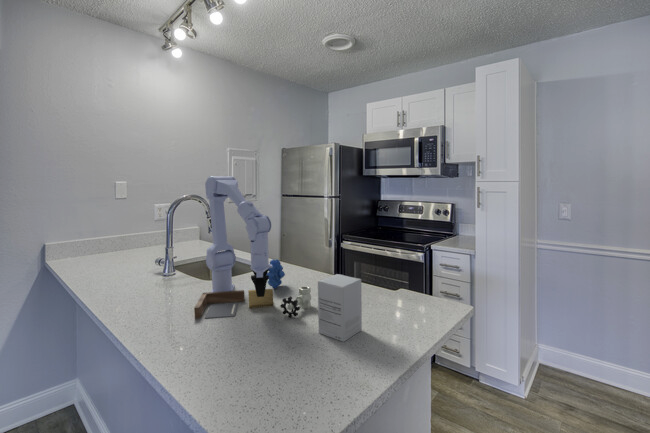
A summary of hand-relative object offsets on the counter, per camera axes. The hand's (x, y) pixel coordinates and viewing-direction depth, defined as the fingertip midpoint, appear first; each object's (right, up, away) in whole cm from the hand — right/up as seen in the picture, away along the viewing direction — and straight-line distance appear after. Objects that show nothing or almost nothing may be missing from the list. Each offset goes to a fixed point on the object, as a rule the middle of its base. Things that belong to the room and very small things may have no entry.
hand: (260, 292), depth 110 cm
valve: (+13, -6, -3) cm, 15 cm away
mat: (-12, -5, -3) cm, 14 cm away
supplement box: (+26, -7, -18) cm, 32 cm away
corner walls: (-13, -5, -1) cm, 14 cm away
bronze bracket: (0, -5, +3) cm, 5 cm away
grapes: (+3, -3, +19) cm, 20 cm away
